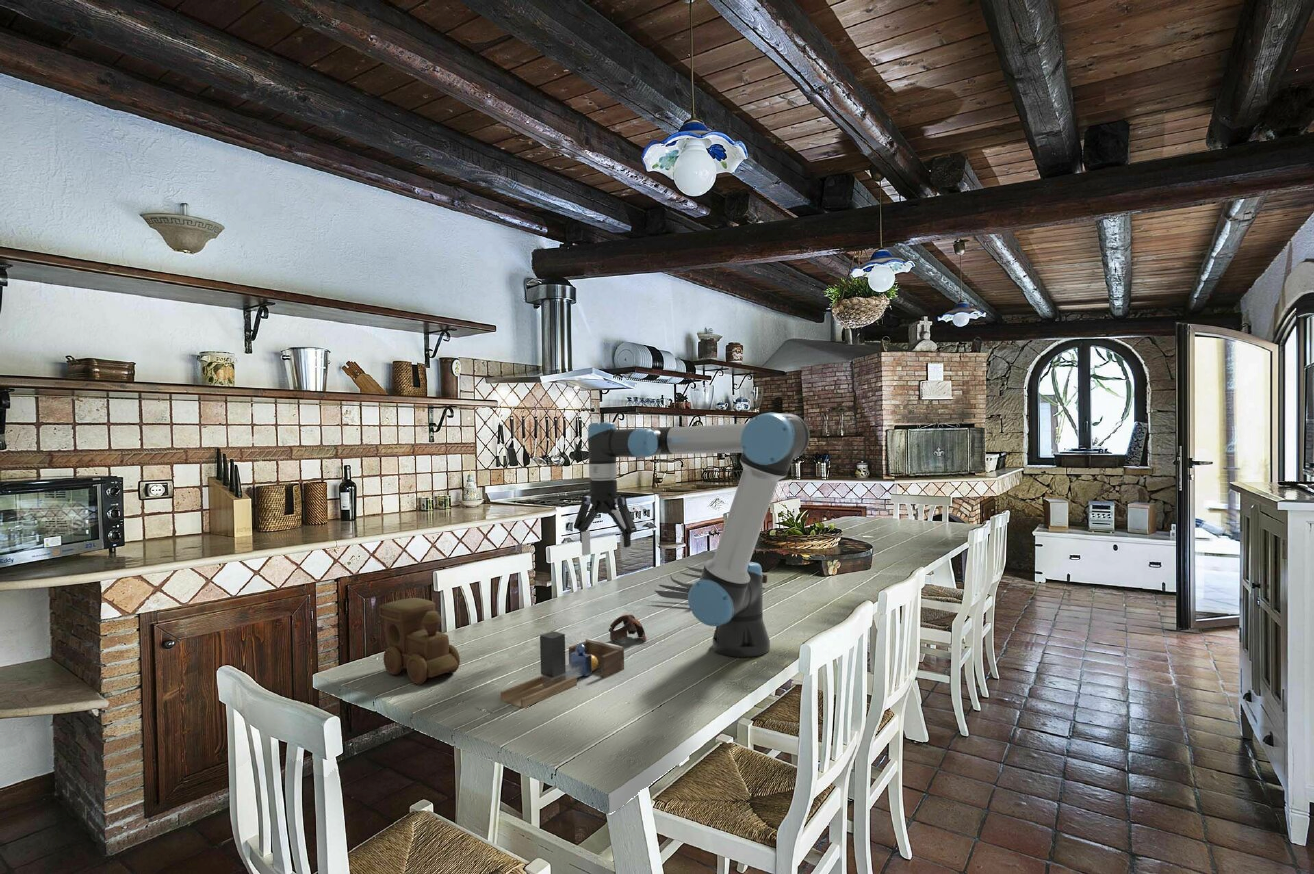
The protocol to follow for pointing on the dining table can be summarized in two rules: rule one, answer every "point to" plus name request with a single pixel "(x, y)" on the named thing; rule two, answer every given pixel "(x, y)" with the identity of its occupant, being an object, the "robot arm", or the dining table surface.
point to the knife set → (687, 586)
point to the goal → (603, 655)
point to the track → (534, 691)
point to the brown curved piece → (626, 628)
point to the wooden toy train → (416, 640)
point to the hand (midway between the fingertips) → (605, 557)
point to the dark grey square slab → (561, 660)
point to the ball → (594, 662)
